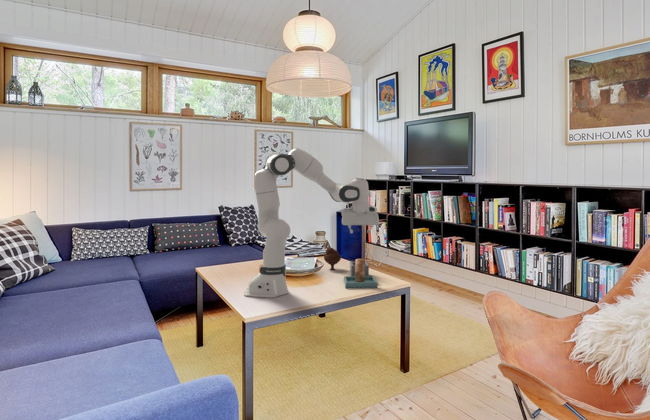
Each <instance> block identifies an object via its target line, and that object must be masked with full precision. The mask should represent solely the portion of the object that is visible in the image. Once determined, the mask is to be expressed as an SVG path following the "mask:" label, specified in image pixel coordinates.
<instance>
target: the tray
mask: <svg viewBox="0 0 650 420" xmlns="http://www.w3.org/2000/svg"><path fill="white" fill-rule="evenodd" d="M343 282H344V286H345V289H378V281H377V280H376V278H375V275H369V276H365V277H364V282H355V276H350V275H348V276H347V275H345V276H344V275H343Z"/></svg>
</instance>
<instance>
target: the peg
mask: <svg viewBox="0 0 650 420" xmlns="http://www.w3.org/2000/svg"><path fill="white" fill-rule="evenodd" d="M354 262H355V282H364V277H365V262H366V261H365V259H364V258H356V259H355V261H354Z"/></svg>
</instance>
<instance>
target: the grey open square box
mask: <svg viewBox="0 0 650 420" xmlns="http://www.w3.org/2000/svg"><path fill="white" fill-rule="evenodd" d="M355 262H356V261H350V262H349V276H355ZM369 267H370V265H369V264H368V262H367V261H365V276H370V275H369V274H370V273H369V270H370V268H369Z"/></svg>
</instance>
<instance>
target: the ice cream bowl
mask: <svg viewBox="0 0 650 420" xmlns="http://www.w3.org/2000/svg"><path fill="white" fill-rule="evenodd" d="M325 254H326V255H324V256H323V259H324V261H325V262H326V263H327V264H328V265H330V268H329V271H336V268H335V265H337V264H338V263H339V262H341V259H342V256H341V255H340V252H339V251H338V250H336V249H334V248H333V247H328V248H326V250H325Z"/></svg>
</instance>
